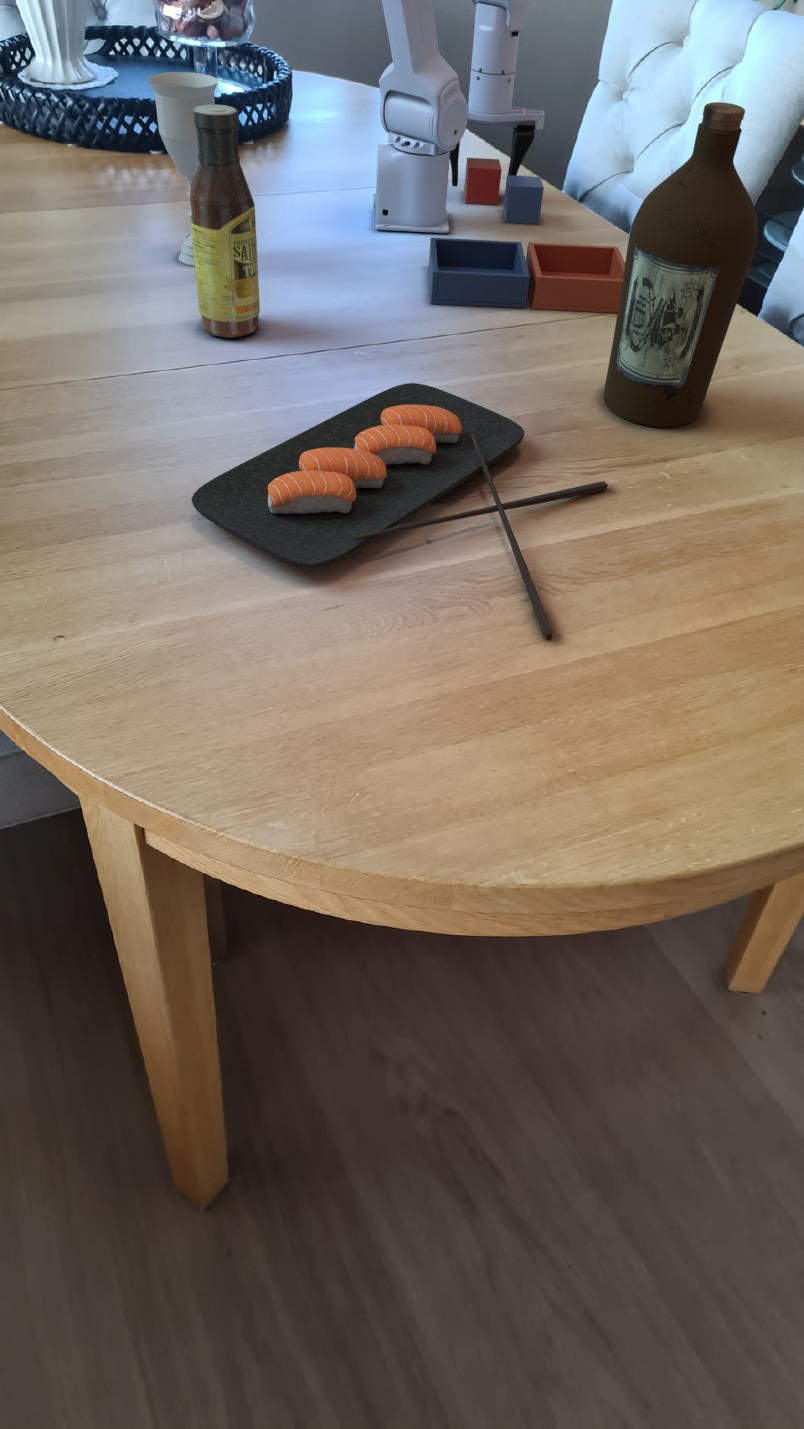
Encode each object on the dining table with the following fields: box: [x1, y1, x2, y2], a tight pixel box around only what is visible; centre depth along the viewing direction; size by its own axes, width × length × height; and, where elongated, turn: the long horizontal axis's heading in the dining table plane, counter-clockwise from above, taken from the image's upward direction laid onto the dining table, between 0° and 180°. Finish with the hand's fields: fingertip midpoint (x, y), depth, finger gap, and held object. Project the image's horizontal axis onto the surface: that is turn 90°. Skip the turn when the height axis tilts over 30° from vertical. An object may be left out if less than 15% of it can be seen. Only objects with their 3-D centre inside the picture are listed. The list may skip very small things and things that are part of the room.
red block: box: [463, 157, 502, 206], centre depth 133 cm, size 4×4×4 cm
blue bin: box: [428, 237, 530, 309], centre depth 110 cm, size 11×11×4 cm
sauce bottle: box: [189, 104, 261, 339], centre depth 94 cm, size 7×6×20 cm
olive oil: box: [603, 101, 759, 428], centre depth 84 cm, size 11×11×25 cm
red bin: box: [525, 242, 625, 314], centre depth 111 cm, size 11×11×4 cm
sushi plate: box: [191, 382, 609, 640], centre depth 76 cm, size 29×30×4 cm
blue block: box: [502, 174, 545, 225], centre depth 128 cm, size 4×4×4 cm
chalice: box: [147, 71, 219, 267], centre depth 108 cm, size 7×7×18 cm
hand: (482, 185), depth 133 cm, fingers open, 7 cm apart
